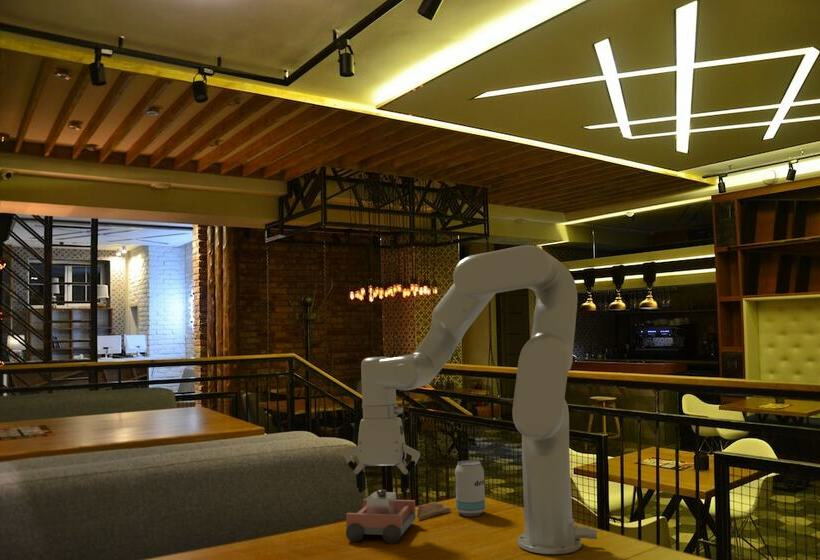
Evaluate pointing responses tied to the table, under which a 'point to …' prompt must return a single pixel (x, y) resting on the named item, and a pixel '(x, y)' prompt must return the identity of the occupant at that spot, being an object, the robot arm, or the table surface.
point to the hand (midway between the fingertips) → (383, 491)
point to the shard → (431, 510)
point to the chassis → (381, 522)
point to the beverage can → (470, 488)
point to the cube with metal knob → (382, 502)
